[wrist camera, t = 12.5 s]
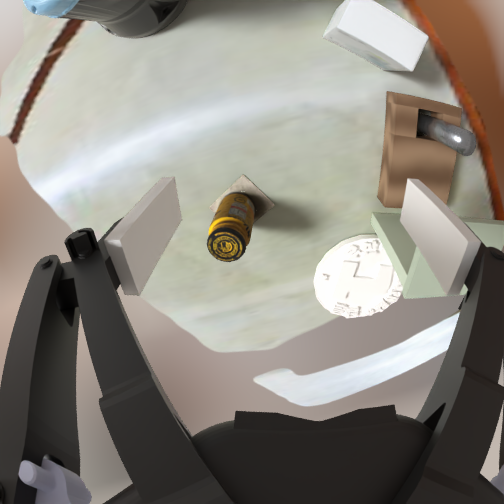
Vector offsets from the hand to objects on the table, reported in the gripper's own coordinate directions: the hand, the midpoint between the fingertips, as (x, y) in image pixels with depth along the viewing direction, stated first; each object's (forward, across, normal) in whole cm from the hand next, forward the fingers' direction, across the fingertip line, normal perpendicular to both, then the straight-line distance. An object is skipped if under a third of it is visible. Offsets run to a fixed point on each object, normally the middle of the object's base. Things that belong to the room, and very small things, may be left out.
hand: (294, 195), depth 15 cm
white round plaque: (+29, -16, +29) cm, 44 cm away
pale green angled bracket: (+29, -22, +12) cm, 38 cm away
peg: (+29, -22, -2) cm, 36 cm away
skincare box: (+29, -12, -14) cm, 34 cm away
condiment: (+29, +7, +14) cm, 33 cm away
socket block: (+29, -22, +3) cm, 36 cm away
